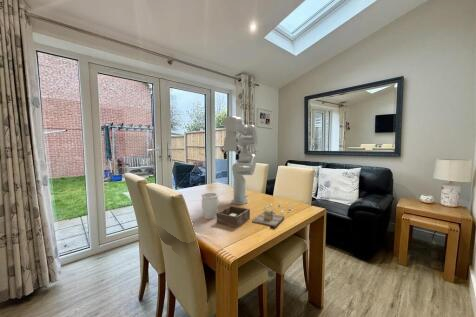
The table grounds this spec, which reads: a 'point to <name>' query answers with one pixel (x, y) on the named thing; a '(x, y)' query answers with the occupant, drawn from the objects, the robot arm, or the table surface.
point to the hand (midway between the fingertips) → (231, 159)
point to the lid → (268, 218)
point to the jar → (210, 205)
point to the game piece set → (279, 205)
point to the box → (227, 219)
